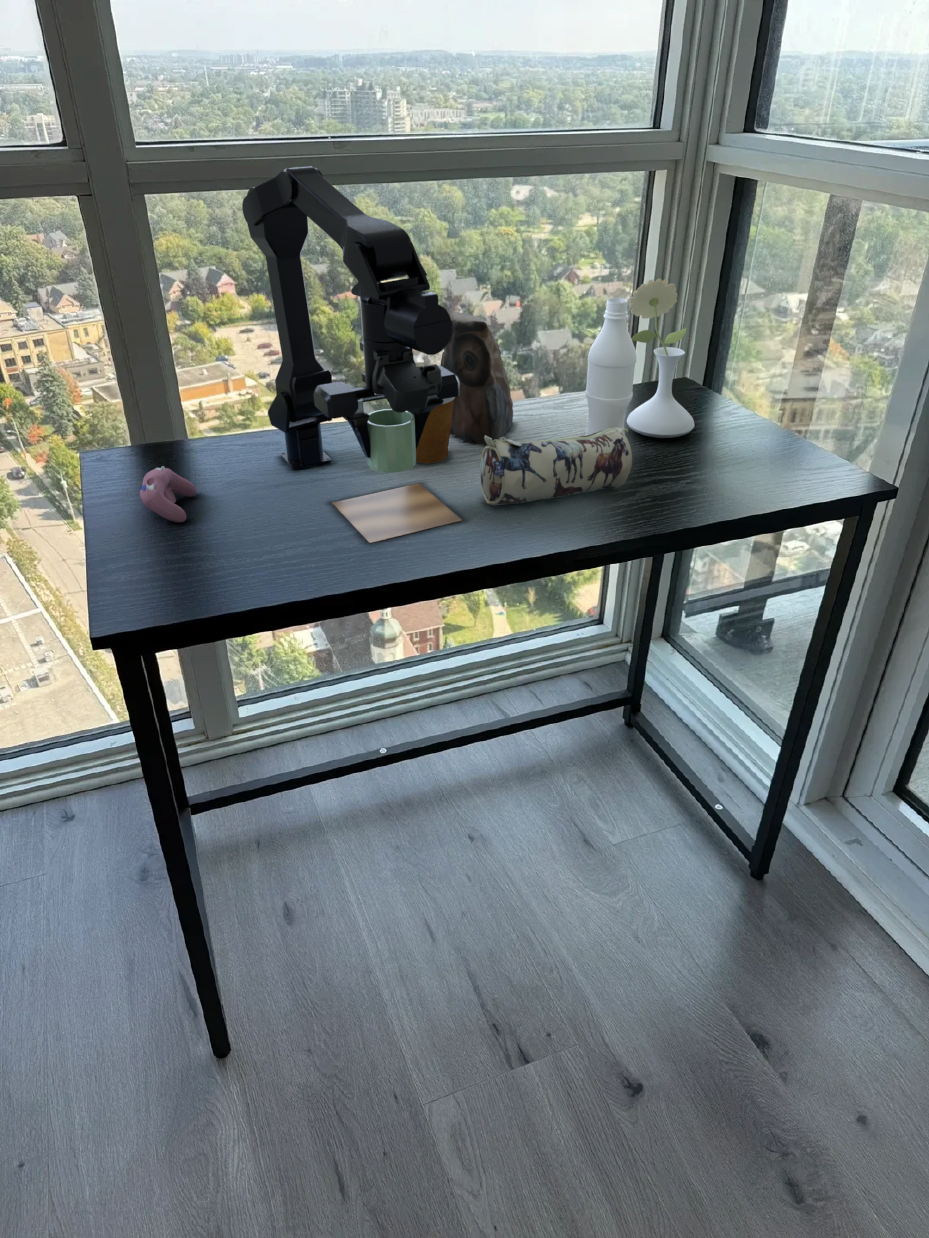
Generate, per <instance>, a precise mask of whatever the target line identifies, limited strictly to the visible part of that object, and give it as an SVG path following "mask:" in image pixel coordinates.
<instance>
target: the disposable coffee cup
mask: <svg viewBox="0 0 929 1238" xmlns="http://www.w3.org/2000/svg"><path fill="white" fill-rule="evenodd" d="M454 398H455V397H452V398H447V399H443V400H444V402H443V404H442V405H438V406H437V407H435V408H434V409H433V410H432V411H431V412H430V414H429V416H428V419H427V421H426V423H425V426H424V429H423V432H422V435H421V438H420V441H419V444H418V447H417V448H416V463H418V464H436V463H440V462H443V461H445V460H446V459H447V458H448V456H449V445H450V437H451V434H450V429H451V420H452V411H453V403H454ZM407 411H408V410H407Z"/></svg>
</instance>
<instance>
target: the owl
mask: <svg viewBox="0 0 929 1238" xmlns="http://www.w3.org/2000/svg"><path fill="white" fill-rule="evenodd" d="M444 308H445V309H446V310H447V312H448V313H449V315H450V318H451V321H452V324H453V328H452V335H451V338H450V340H449V342H448V344H447V346H446V347H445V348H444V349H443V352H441V353H442V354H441V358H440V363H439V366H442V367H443V368H445V369H447V370H448V371H450V372H452V373H453V374H455V375H456V376H457V377H458V379H459V382H460V395H459V396H458V397H455V398H454V403H453V411H452V420H451V429H450V435H452V436H453V435H454V436H453V438H456V439H459V440H461V441H462V443H465V444H466V443H467V444H470V445H481V446H485V447H487V446H488V445H487V443H486V441H485V439H484V437H485V435H486V436H487V437H490V438H492V441H493V440H499V439H500V438H501V437H505V436H506V433H509V432H510V431H511V430H512V427H513V425H514V422H513V421H514V420H513V419H514V409H513V407H514V402H513V399H512V396H511V395H512V394H511V388H510V384H509V379H508V375H507V373H506V369H505V366H504V363H503V360H502V356H501V355H502V352H501V349H500V346H499V343H498V341H497V338H496V336H495V335H494V333H493V332H492V330H491V328H490V327H489V326H488V323H487V322H486V321H484V320H483V319H482V318H481V317H478V316H474V315H473V314H471V313H465V312H459V311H456V310H452V309H451V308H450V306H446V307H444Z"/></svg>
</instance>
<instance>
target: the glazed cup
mask: <svg viewBox="0 0 929 1238" xmlns="http://www.w3.org/2000/svg"><path fill="white" fill-rule="evenodd" d="M368 414H369V419H368V423H367V425H368V432H369V439H370V447H371V457H370V458H367V457H366V458H367V465H368V467H369V468H370V469H371V470H373V471H376V472H380V473H386V474H387V473H388V474H389V473H401V472H406V471H409V470H410V469H412V468H413V467H415V466H416V464H417V462H416V445H415V418H414V415H413V414H412V413H411V412H408V411H405V412H401V413H399V412H395V411H393V410H392V408H385V409H384V408H383V409H379V410H374V411H371V412H369V413H368Z"/></svg>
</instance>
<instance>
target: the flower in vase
mask: <svg viewBox="0 0 929 1238" xmlns="http://www.w3.org/2000/svg"><path fill="white" fill-rule="evenodd" d="M632 295H633V296H631V297H629V298H628V304H629V306H628V307H629V308H630V314H632V315H634V316H635V317H640V316H641V318H642V319H649V320H651V319H654V327H655V332H654V331H652V330H649V329H643V330H640V331H638V332H637V333H635V334H634V335H633V336H632V337H631V339H632V342H639V343H643V344H646V343H650V342H651V341H653V340H654V339H655V338H656V337H657V339H658V340H659V342H660V344H661V347H657V348H654V349H653V353H654V355H655V357H656V360H657V363H658V383H657V389H656V392H655V394H654V395H653V396H652V397H651V398H649V399H648V400H646V401H645V402H643V403H642V404H640V405H639V406H638V407H636V408H634V409H633V410H632V411H631V412H630V413H629V414H628V416H627V419H626V423H627V426H628V428H630V429H631V430H632V432H633V431H634V432H635V433H637V434H640V435H642V436H645V437H650V438H656V439H672V438H673V439H674V438H678V437H682V436H685V435H688V434H689V433H690V432H691V431H692V430H693V429H694V428H695V421H694V418H693V416H692V415H691V414H690V413H689V411H688V410H686V409H685V408H684V407H683V405H681V404H680V403H679V402H678V401H677V400H676V399H675V397H674V395H673V392H672V390H673V381H674V375H675V372H676V369H677V365H678V363H679V361H681V358H682V357H683V356H684V355H685V354H686V351H685V350H683V349H681V348H678V347H674V346H673V347H672V346H666V345H670V344H675V343H678V342H679V341H681V340H682V339H683V338H684V337H685V335H686V333H687V331H688V330H687V329H688V327H685V328H683V329H680V330H677V331H674V332H671V333H669V334H667V336H666V338H665V340H664V342H663V339H662V337H661V336H660V333H659V330H658V317H660V316H662V315H663V314H668V313H669V312H670V309H672V308H673V307H674V305H675V304H677V302H678V292H677V287H676V284H675V283H669V280H668V279H666V278H665V279H662V278H657V279H656V280H653V279H649V280H648V281H647V282H646V283H642V284H640V286H639V287H637V289H636V290H634V291H632Z"/></svg>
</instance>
